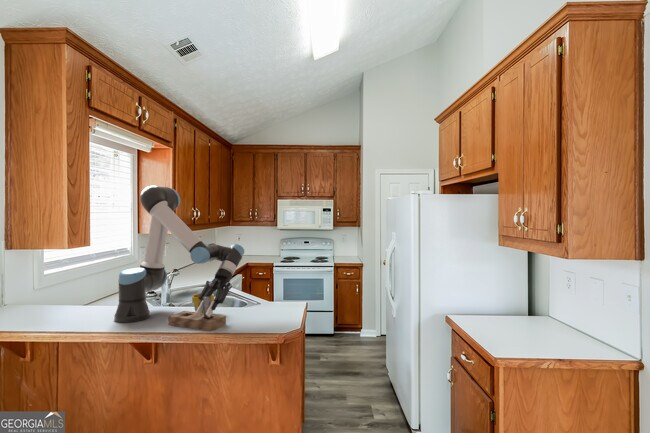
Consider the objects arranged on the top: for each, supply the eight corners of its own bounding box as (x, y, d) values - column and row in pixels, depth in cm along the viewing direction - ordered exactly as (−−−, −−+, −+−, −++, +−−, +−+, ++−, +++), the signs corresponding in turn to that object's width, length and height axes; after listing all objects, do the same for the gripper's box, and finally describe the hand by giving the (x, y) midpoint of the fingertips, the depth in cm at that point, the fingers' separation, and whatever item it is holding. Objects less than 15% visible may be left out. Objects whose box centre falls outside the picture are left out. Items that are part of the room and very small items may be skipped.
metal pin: (202, 324, 165) (201, 297, 165) (207, 322, 168) (206, 296, 168) (208, 324, 164) (207, 297, 164) (213, 323, 167) (212, 296, 167)
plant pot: (207, 318, 179) (207, 297, 179) (187, 316, 181) (187, 296, 181) (217, 312, 189) (217, 293, 189) (199, 311, 191) (199, 292, 191)
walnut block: (168, 324, 168) (168, 316, 168) (184, 319, 177) (184, 310, 177) (211, 331, 159) (211, 321, 159) (225, 324, 168) (226, 315, 168)
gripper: (244, 278, 177) (222, 321, 162) (213, 275, 183) (190, 317, 168) (238, 268, 172) (215, 312, 157) (206, 266, 178) (182, 308, 163)
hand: (202, 315), depth 162 cm, fingers open, 5 cm apart
